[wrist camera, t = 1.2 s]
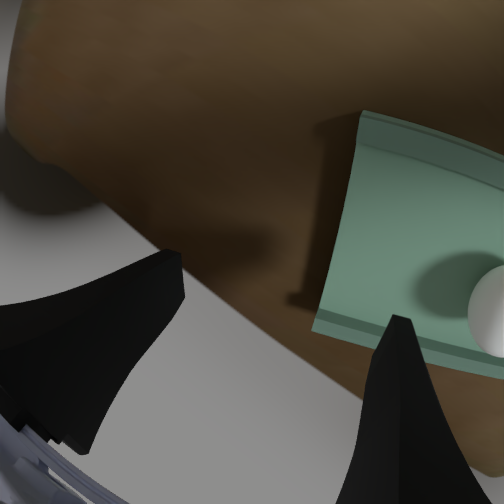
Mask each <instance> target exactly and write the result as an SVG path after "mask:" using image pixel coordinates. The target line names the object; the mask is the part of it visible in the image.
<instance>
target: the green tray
mask: <svg viewBox="0 0 504 504" xmlns="http://www.w3.org/2000/svg"><path fill="white" fill-rule="evenodd" d="M356 142H357V143H356V149H355V154H354V159H353V165H352V170H351V175H350V180H349V185H348V190H347V195H346V199H345V204H344V209H343V213H342V218H341V222H340V226H339V231H338V235H337V239H336V243H335V247H334V252H333V256H332V260H331V264H330V268H329V271H328V275H327V279H326V283H325V287H324V290H323V294H322V298H321V301H320V305H319V309H318V311H317V314H316V317H315V320H314V324H313V327H312V331H314V332H317V333H320V334H324V335H327V336H331V337H334V338H337V339H341V340H344V341H348V342H351V343H355V344H358V345H362V346H366V347H369V348H373V349H376V348H377V346H378V344H379V342H380V340H381V338H382V336H383V333H384V331H385V329H386V327H387V325H388V323H389V321H390V319H391V317H392V314H395V315H399V316H403V317H406V318H410V319H411V320H412V323H413V326H414V329H415V332H416V336H417V339H418V342H419V345H420V348H421V351H422V355H423V358H424V361H425V362H427V363H431V364H435V365H439V366H444V367H448V368H452V369H456V370H461V371H465V372H470V373H475V374H479V375H484V376H489V377H494V378H499V379H504V358H500V357H496V356H492V355H490V354H488V353H486V352H485V351H483V350H482V349H481V348H480V347H479V346H478V345H477V343H476V342H475V340H474V339H473V337H472V334H471V332H470V329H469V325H468V305H469V300H470V297H471V294H472V292H473V290H474V288H475V286H476V285H477V283H478V282H479V281H480V279H481V278H482V277H483V276H484V275H485V274H486V273H488V272H489V271H490V270H492V269H494V268H496V267H499V266H502V265H504V156H503V155H501V154H499V153H496V152H494V151H492V150H489V149H487V148H484V147H482V146H479V145H477V144H474V143H471V142H469V141H466V140H463V139H461V138H458V137H455V136H452V135H449V134H446V133H443V132H440V131H437V130H434V129H431V128H428V127H425V126H422V125H418V124H415V123H412V122H408V121H405V120H401V119H397V118H394V117H390V116H386V115H382V114H378V113H374V112H370V111H366V110H363V112H362V114H361V116H360V120H359V126H358V132H357V138H356Z"/></svg>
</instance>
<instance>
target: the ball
mask: <svg viewBox="0 0 504 504" xmlns="http://www.w3.org/2000/svg"><path fill="white" fill-rule="evenodd" d="M468 325H469V329H470V332H471V334H472V337H473V339H474V340H475V342H476V343H477V345H478V346H479V347H480V348H481V349H482V350H483V351H485V352H486V353H488V354H490V355H492V356H496V357H500V358H504V265H502V266H499V267H496V268H494V269H492V270H490V271H489V272H488V273H486V274H485V275H484V276H483V277H482V278H481V279H480V281H479V282H478V283H477V285H476V286H475V288H474V290H473V292H472V294H471V297H470V300H469V305H468Z"/></svg>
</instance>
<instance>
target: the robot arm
mask: <svg viewBox="0 0 504 504" xmlns="http://www.w3.org/2000/svg"><path fill="white" fill-rule="evenodd" d="M184 298H185V292H184V283H183V272H182V261H181V253H179V252H175V251H172V250H169V249H165V250H162V251H159V252H157V253H155V254H152V255H150V256H148V257H146V258H143V259H141V260H139V261H137V262H135V263H132V264H130V265H128V266H126V267H124V268H121V269H119V270H117V271H115V272H113V273H111V274H108V275H106V276H104V277H101V278H98V279H96V280H94V281H91V282H89V283H87V284H84V285H82V286H79V287H76V288H73V289H70V290H68V291H65V292H61V293H58V294H55V295H51V296H47V297H43V298H39V299H36V300H31V301H26V302H21V303H16V304H9V305H1V306H0V504H87V503H86V502H85V501H84V500H83V499H82V498H81V497H80V496H79V495H78V494H76V493H75V492H74V491H73V490H71V489H70V488H69V487H67V486H66V485H64V484H63V483H61V482H60V481H59V480H57V479H56V478H54V477H53V476H51V475H50V474H49V473H48V467H49V468H50V469H51V470H52V471H54V472H55V473H56V474H57V475H58V476H59V477H61V478H62V479H63V480H64V481H66V482H67V483H68V484H69V485H71V486H72V487H73V488H74V489H76V490H77V491H78V492H80V493H81V494H83V495H84V496H85V497H86V498H88V499H89V500H90V501H92V502H93V503H95V504H129V503H128V502H126V501H124V500H123V499H121V498H120V497H118V496H116V495H115V494H113V493H112V492H110V491H109V490H107V489H106V488H104V487H103V486H101V485H100V484H99V483H97V482H96V481H94V480H93V479H91V478H90V477H88V476H87V475H86V474H84V473H83V472H82V471H81V470H79V469H78V468H77V467H75V466H74V465H73V464H72V463H70V462H69V461H68V460H66V459H65V458H64V457H63V456H62V455H60V454H59V453H58V452H57V451H56V450H54V449H53V448H52V447H51V446H50V445H48V444H47V443H48V441H49V440H50V439H52V440H53V441H54V442H55V443H57V444H60V443H61V442H63V443H65V444H66V445H67V446H68V447H70V448H71V449H72V450H74V451H75V452H76V453H77V454H79V455H86V454H89V451H90V448H91V446H92V444H93V441H94V439H95V436H96V434H97V432H98V429H99V427H100V425H101V423H102V421H103V419H104V417H105V415H106V413H107V411H108V409H109V407H110V405H111V404H112V402H113V400H114V398H115V397H116V395H117V393H118V391H119V390H120V388H121V386H122V385H123V383H124V381H125V380H126V378H127V377H128V375H129V373H130V372H131V370H132V369H133V368H134V366H135V365H136V363H137V362H138V361H139V360H140V358H141V357H142V356H143V355H144V353H145V352H146V351H147V350H148V349H149V347H150V346H151V345H152V344H153V342H154V341H155V340H156V339H157V337H158V336H159V335H160V334H161V333H162V331H163V330H164V329H165V328H166V326H167V325H168V323H169V322H170V321H171V320H172V318H173V317H174V315H175V314H176V312H177V310H178V309H179V307H180V305H181V304H182V302H183V300H184ZM336 504H492V503H491V502H490V500H489V499H488V497H487V496H486V494H485V493H484V492H483V490H482V488H481V486H480V485H479V483H478V482H477V480H476V478H475V476H474V475H473V473H472V471H471V469H470V468H469V466H468V464H467V462H466V460H465V458H464V456H463V454H462V452H461V450H460V448H459V447H458V445H457V443H456V440H455V438H454V436H453V434H452V432H451V430H450V427H449V425H448V423H447V420H446V418H445V416H444V413H443V411H442V408H441V406H440V403H439V400H438V398H437V395H436V392H435V390H434V387H433V384H432V381H431V378H430V375H429V372H428V369H427V367H426V364H425V361H424V358H423V355H422V351H421V348H420V345H419V342H418V339H417V336H416V332H415V329H414V326H413V323H412V320H411V319H410V318H406V317H403V316H399V315H395V314H392V317H391V319H390V321H389V323H388V325H387V327H386V329H385V331H384V333H383V336H382V338H381V340H380V342H379V344H378V346H377V348H376V350H375V351H374V353H373V355H372V359H371V363H370V368H369V372H368V376H367V380H366V385H365V392H364V398H363V405H362V411H361V418H360V425H359V430H358V435H357V441H356V445H355V450H354V453H353V457H352V460H351V463H350V466H349V469H348V472H347V475H346V478H345V481H344V483H343V486H342V489H341V491H340V494H339V496H338V499H337V501H336Z"/></svg>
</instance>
